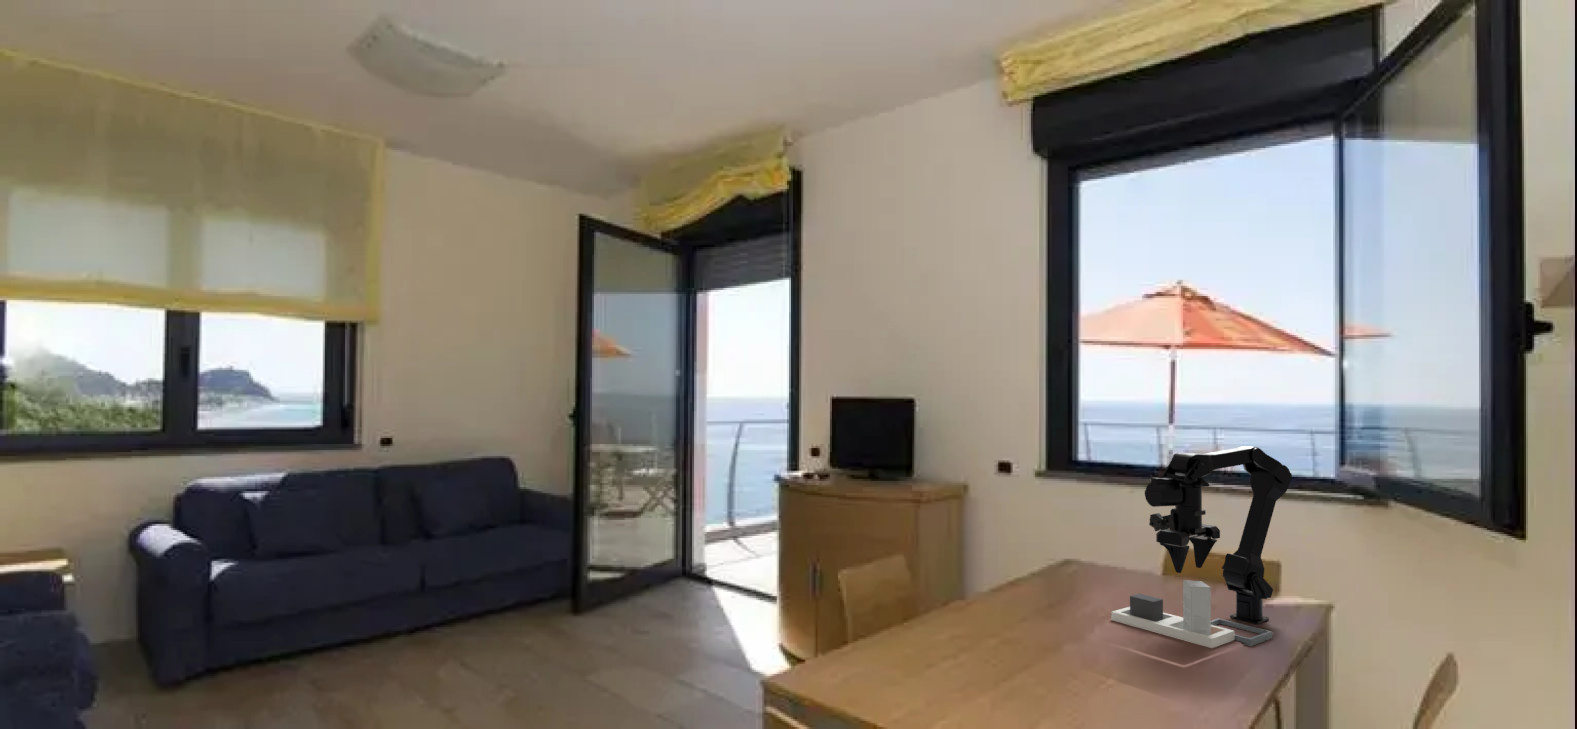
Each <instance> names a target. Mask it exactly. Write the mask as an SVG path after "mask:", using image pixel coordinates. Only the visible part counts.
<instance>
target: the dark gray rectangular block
mask: <svg viewBox="0 0 1577 729" xmlns="http://www.w3.org/2000/svg"><path fill="white" fill-rule="evenodd" d="M1129 607H1130V615H1132V616H1136V617H1139V618H1143V619H1147V620H1151V621H1154V622H1157V621H1160V620H1163V613H1164V599H1163V598H1159V597H1155V596H1151V595H1147V594H1142V593H1137V594H1132V595H1130V596H1129Z"/></svg>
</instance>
